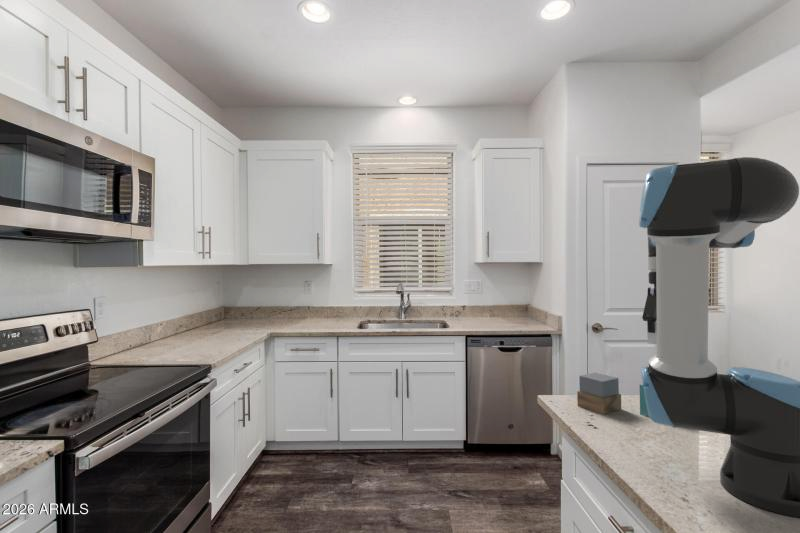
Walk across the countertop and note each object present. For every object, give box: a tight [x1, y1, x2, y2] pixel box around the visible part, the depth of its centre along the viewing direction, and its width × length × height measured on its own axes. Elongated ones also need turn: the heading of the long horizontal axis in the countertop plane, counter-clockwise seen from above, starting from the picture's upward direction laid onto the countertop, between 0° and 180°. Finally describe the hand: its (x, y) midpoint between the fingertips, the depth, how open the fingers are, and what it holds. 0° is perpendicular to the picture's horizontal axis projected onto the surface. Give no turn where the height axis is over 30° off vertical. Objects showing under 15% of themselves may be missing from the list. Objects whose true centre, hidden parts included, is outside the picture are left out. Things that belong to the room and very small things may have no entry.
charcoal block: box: [578, 372, 620, 398], centre depth 125 cm, size 8×8×5 cm
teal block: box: [639, 383, 650, 418], centre depth 118 cm, size 6×6×9 cm
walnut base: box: [576, 390, 622, 415], centre depth 125 cm, size 9×9×5 cm
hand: (664, 341), depth 118 cm, fingers open, 13 cm apart
